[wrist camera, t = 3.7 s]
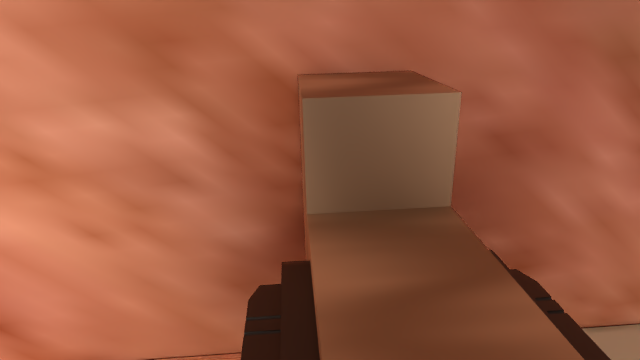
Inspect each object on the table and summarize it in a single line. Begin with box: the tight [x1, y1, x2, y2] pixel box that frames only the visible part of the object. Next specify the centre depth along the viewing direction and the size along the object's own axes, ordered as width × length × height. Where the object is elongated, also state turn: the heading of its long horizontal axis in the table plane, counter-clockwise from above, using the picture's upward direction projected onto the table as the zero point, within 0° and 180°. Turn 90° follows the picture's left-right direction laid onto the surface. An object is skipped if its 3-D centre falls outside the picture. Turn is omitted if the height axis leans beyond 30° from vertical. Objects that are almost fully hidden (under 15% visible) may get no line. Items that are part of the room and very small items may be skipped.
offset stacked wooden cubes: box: [298, 71, 584, 360], centre depth 10 cm, size 4×9×10 cm, turn 1°
